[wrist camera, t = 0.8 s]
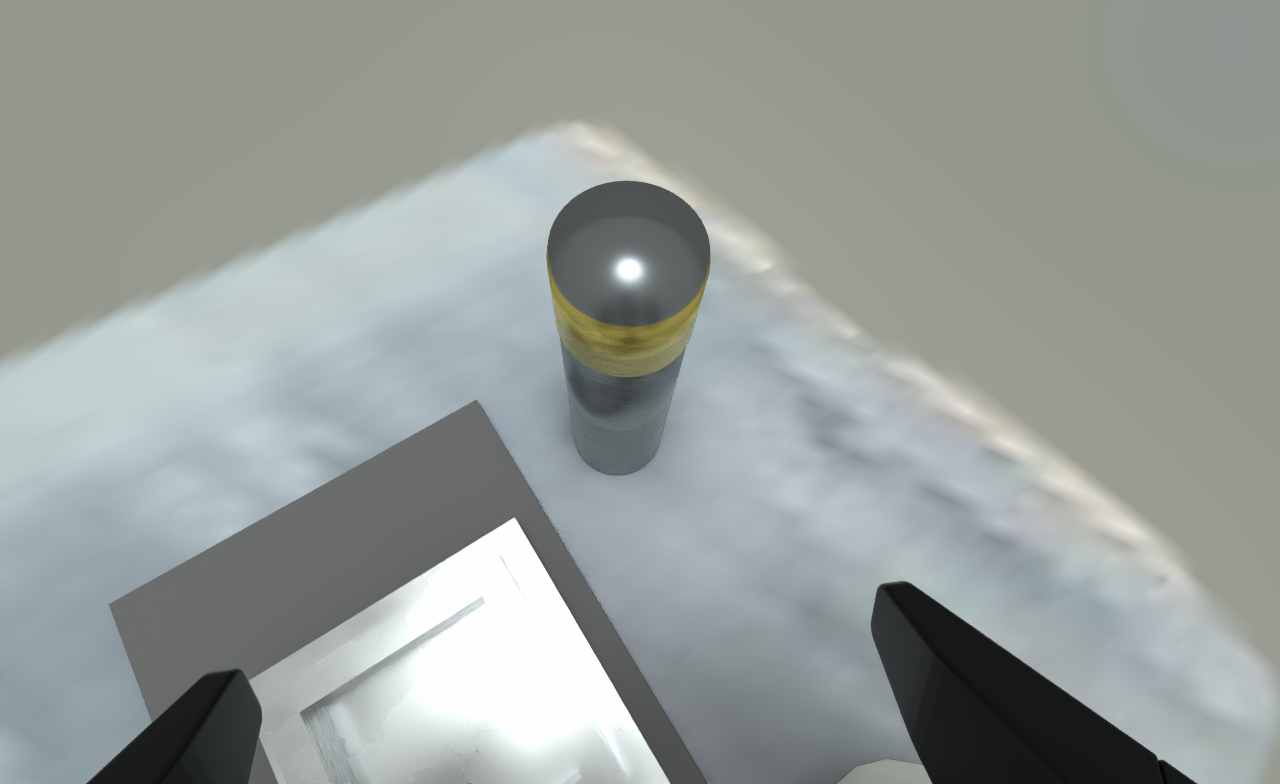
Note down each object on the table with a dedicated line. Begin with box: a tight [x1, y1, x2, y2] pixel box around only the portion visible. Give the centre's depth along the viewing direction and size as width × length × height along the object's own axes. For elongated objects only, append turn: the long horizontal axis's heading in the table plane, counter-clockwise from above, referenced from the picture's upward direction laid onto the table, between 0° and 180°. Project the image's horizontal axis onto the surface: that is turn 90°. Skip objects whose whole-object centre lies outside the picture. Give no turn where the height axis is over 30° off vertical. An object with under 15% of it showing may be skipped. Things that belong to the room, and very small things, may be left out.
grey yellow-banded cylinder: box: [546, 181, 710, 475], centre depth 20 cm, size 4×4×13 cm
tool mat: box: [109, 400, 707, 784], centre depth 21 cm, size 22×14×1 cm, turn 33°
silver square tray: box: [249, 518, 670, 784], centre depth 20 cm, size 10×10×3 cm
